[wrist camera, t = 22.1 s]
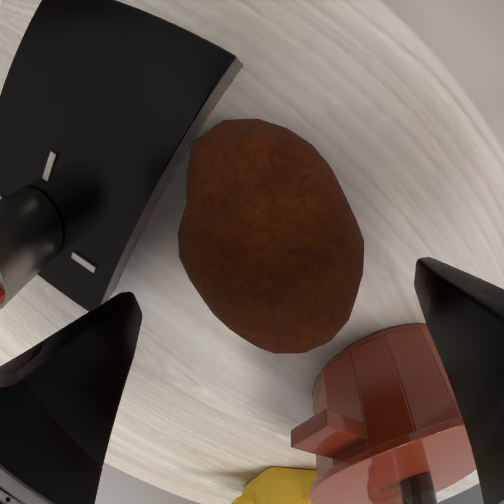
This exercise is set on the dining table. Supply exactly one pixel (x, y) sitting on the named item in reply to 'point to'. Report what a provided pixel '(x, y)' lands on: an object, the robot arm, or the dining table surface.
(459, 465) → the pot lid
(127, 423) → the dining table surface
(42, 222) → the hob knob
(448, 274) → the robot arm
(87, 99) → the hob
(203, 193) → the potato
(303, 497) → the teapot
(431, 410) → the pot
